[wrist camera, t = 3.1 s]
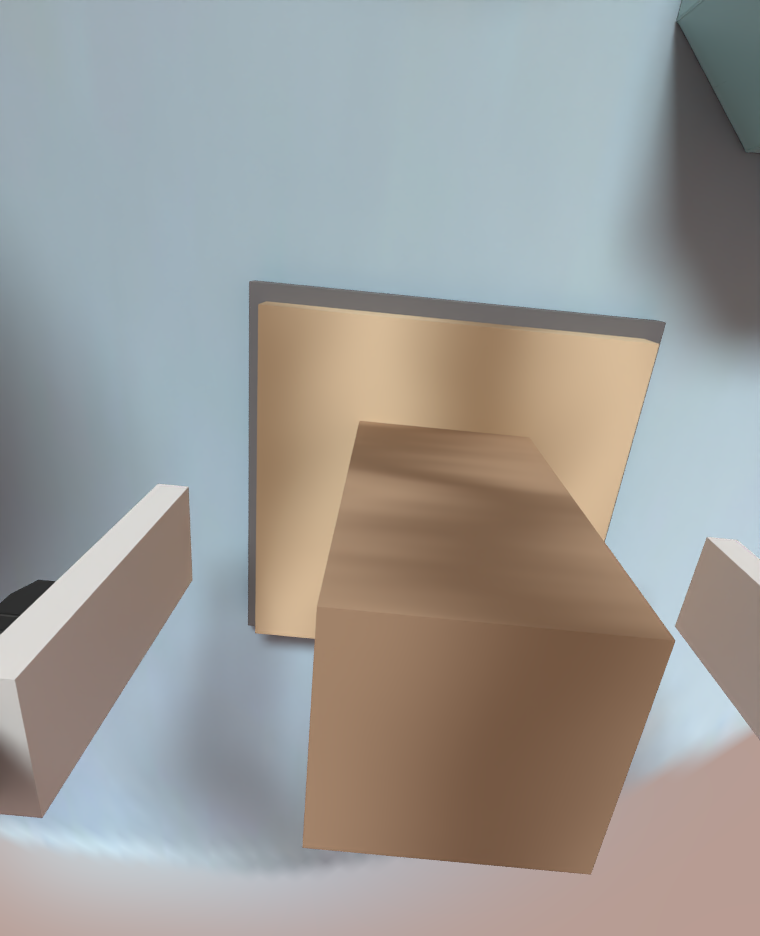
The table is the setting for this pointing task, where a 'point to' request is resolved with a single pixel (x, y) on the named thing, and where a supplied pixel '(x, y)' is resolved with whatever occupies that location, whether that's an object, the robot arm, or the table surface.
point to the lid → (454, 579)
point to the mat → (411, 307)
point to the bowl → (729, 58)
